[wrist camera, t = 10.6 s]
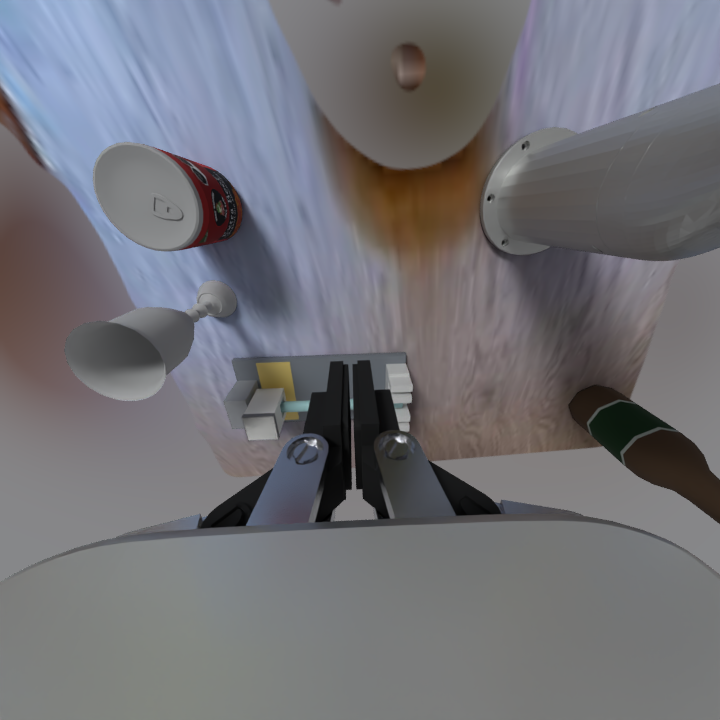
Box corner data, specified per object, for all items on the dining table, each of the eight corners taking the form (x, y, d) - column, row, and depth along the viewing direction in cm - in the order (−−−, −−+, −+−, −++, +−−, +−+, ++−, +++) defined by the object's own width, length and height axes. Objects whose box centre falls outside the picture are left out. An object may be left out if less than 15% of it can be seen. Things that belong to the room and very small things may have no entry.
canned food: (247, 244, 34) (206, 257, 24) (179, 237, 33) (109, 246, 23) (241, 170, 30) (190, 149, 20) (165, 160, 29) (75, 133, 20)
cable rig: (405, 352, 41) (414, 373, 36) (401, 414, 47) (408, 440, 41) (233, 358, 41) (215, 380, 35) (250, 420, 46) (237, 447, 41)
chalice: (217, 332, 39) (125, 414, 23) (178, 293, 36) (43, 354, 20) (255, 305, 37) (185, 372, 21) (218, 261, 34) (105, 301, 18)
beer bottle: (571, 387, 46) (763, 536, 24) (618, 379, 45) (855, 523, 24) (563, 422, 49) (723, 577, 28) (607, 415, 49) (803, 568, 28)
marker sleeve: (284, 387, 41) (273, 415, 35) (288, 409, 43) (278, 439, 37) (256, 388, 41) (241, 417, 35) (261, 410, 42) (248, 440, 37)
